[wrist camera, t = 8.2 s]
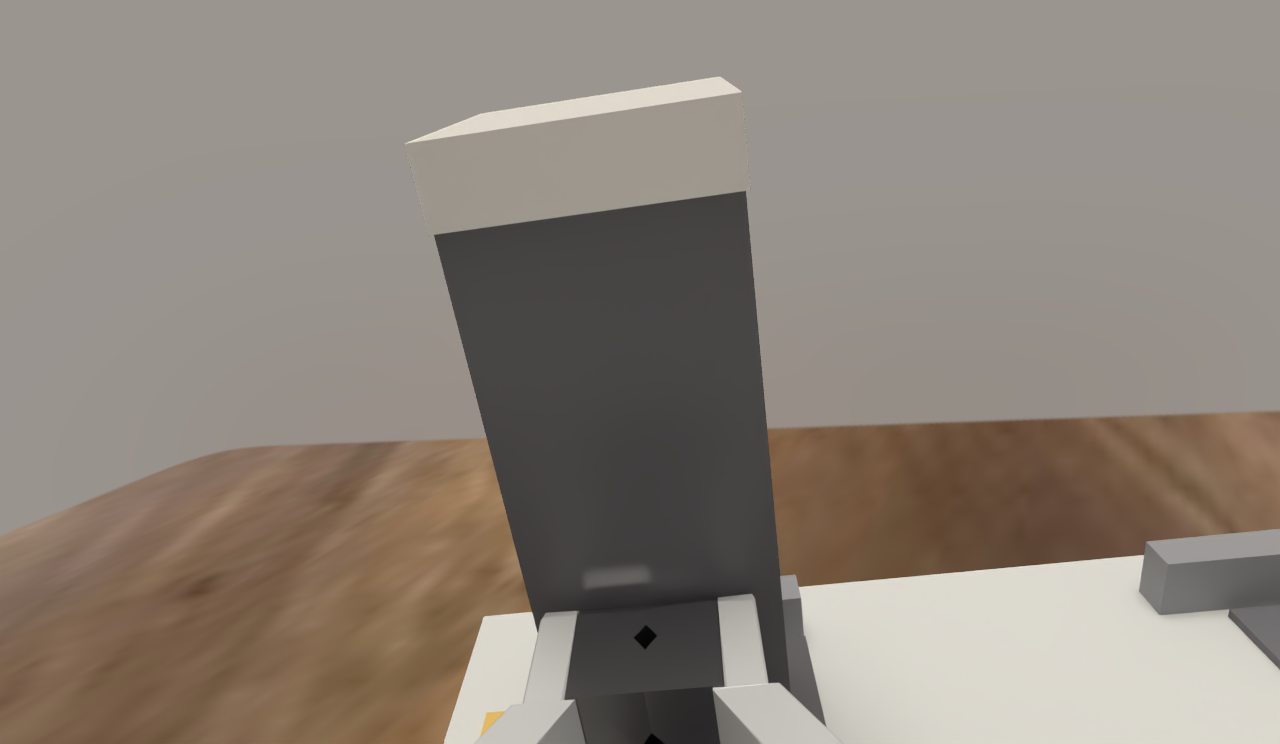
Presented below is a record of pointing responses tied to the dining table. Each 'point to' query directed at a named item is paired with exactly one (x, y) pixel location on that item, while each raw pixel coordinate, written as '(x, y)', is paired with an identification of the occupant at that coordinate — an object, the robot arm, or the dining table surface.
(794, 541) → the dining table surface
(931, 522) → the dining table surface
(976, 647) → the twin pillar base
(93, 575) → the dining table surface
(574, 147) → the grey post on base
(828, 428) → the dining table surface
